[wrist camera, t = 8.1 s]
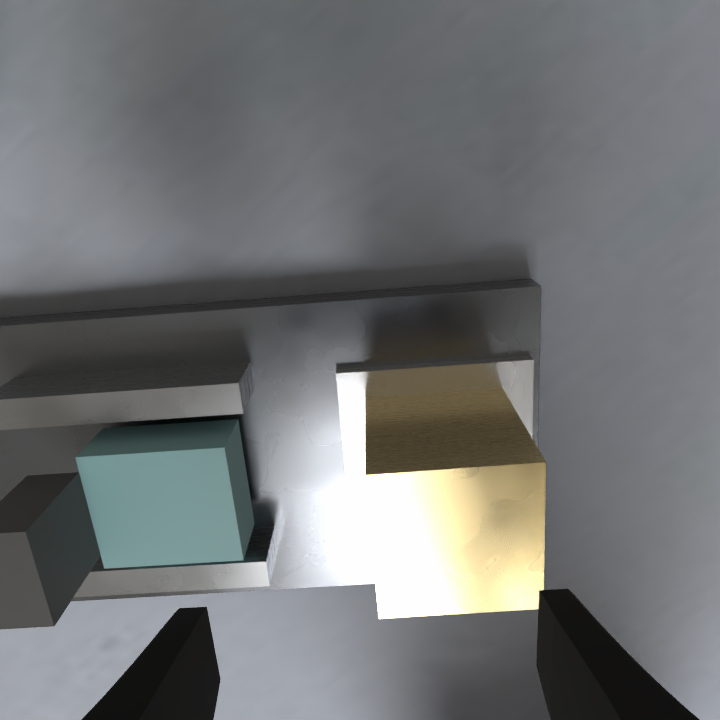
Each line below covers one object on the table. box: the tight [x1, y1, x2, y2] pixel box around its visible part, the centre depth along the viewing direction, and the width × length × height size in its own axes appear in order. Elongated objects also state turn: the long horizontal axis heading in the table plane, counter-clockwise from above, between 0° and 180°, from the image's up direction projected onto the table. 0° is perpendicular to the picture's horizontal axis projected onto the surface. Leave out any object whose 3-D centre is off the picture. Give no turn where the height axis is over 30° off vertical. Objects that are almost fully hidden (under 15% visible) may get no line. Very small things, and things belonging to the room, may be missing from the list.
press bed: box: [0, 279, 541, 601], centre depth 21 cm, size 20×11×3 cm, turn 94°
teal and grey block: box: [0, 419, 255, 629], centre depth 18 cm, size 6×4×5 cm, turn 94°
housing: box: [365, 388, 546, 619], centre depth 18 cm, size 4×4×5 cm
